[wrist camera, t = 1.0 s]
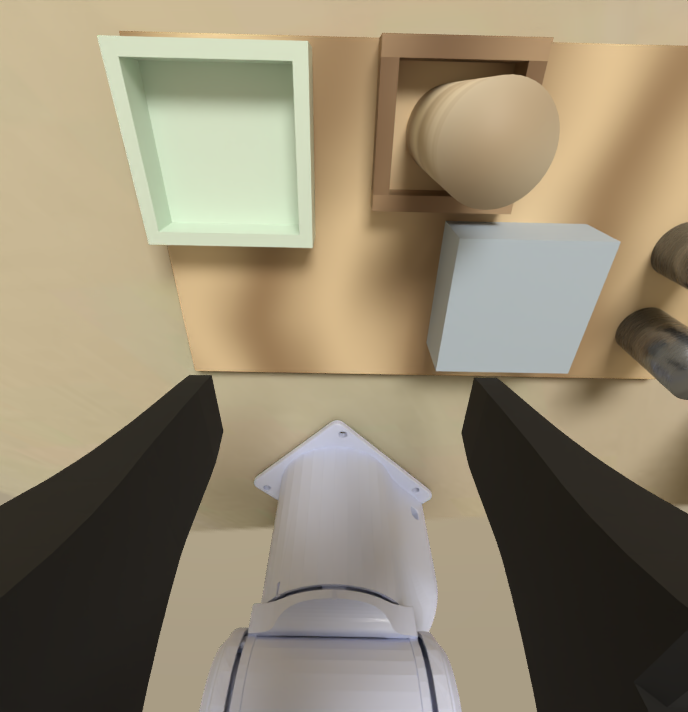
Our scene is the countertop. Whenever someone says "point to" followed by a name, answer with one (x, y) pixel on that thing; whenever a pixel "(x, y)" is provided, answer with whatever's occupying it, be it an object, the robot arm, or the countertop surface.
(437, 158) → the beech dowel
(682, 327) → the bench dogs
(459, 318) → the slate block
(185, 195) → the sage tray
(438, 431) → the countertop surface
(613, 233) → the bench board
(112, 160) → the countertop surface
